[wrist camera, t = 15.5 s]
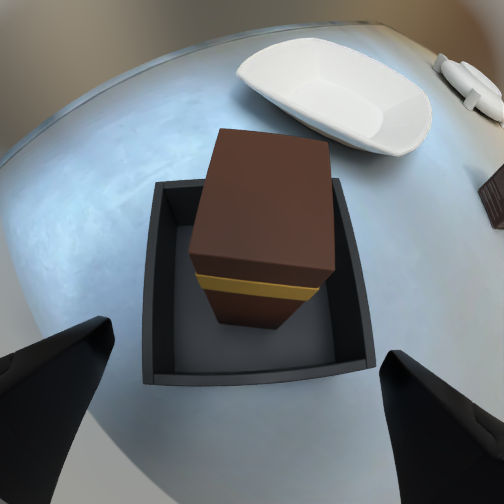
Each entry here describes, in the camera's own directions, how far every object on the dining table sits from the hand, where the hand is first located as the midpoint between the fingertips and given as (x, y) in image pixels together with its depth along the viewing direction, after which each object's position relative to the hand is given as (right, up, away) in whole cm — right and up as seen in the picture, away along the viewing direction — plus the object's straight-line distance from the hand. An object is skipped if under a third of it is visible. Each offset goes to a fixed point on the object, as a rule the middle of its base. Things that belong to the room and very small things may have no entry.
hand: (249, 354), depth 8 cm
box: (+33, +8, +18) cm, 39 cm away
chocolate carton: (0, 0, +11) cm, 11 cm away
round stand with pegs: (+53, +40, +33) cm, 74 cm away
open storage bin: (0, 0, +12) cm, 12 cm away
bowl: (+11, +20, +22) cm, 32 cm away
